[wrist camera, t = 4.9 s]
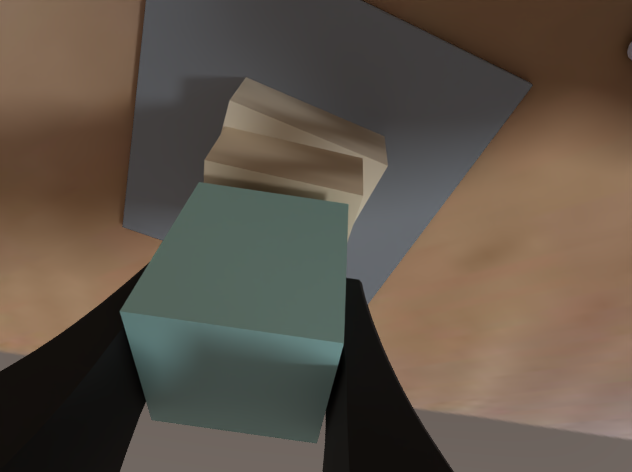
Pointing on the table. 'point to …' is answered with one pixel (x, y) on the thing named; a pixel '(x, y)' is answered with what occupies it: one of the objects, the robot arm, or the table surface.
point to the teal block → (243, 313)
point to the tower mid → (285, 169)
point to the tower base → (306, 128)
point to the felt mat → (317, 90)
